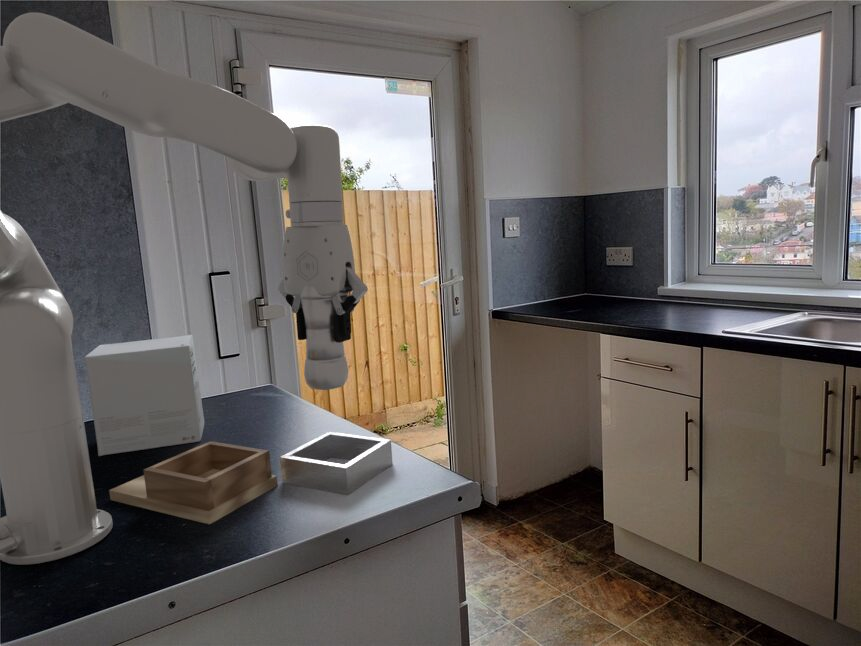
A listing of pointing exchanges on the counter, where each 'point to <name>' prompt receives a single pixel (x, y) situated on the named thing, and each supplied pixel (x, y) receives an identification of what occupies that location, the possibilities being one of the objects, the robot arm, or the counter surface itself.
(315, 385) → the plastic bottle
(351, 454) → the holder
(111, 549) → the counter surface
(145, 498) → the wooden tray
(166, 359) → the supplement box
